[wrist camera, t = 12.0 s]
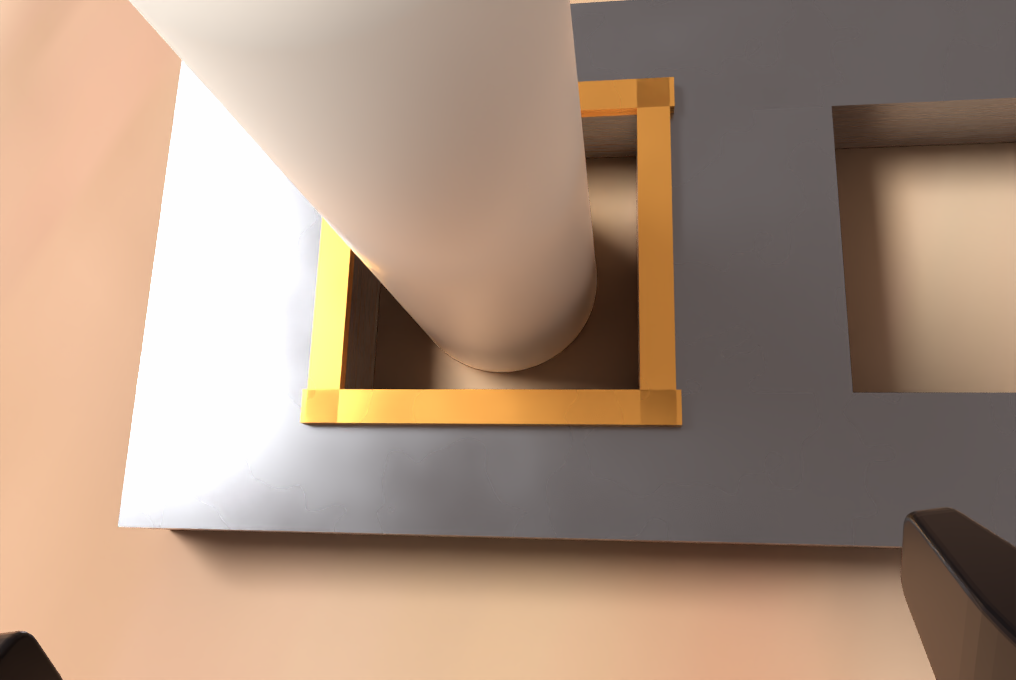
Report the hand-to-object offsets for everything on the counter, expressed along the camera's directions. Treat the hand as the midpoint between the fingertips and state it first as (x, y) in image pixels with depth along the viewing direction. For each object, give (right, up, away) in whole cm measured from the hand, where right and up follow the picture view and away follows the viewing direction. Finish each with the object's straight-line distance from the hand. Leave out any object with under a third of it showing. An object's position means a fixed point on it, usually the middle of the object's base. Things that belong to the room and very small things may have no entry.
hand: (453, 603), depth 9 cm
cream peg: (0, +4, +12) cm, 12 cm away
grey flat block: (+6, +4, +11) cm, 13 cm away
